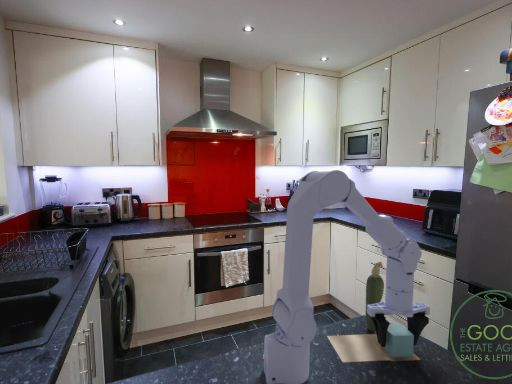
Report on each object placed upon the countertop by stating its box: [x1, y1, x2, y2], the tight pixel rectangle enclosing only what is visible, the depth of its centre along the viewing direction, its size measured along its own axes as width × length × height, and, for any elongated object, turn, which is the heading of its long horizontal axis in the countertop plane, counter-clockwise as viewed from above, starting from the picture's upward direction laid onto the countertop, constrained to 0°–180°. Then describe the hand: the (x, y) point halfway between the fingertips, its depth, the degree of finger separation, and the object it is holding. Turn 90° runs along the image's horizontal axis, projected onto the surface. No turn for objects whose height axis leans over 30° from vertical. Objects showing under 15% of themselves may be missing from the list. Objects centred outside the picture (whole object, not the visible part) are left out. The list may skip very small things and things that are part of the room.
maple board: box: [326, 333, 421, 363], centre depth 65 cm, size 18×10×1 cm, turn 95°
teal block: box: [383, 323, 414, 357], centre depth 64 cm, size 5×5×5 cm
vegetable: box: [365, 261, 385, 334], centre depth 73 cm, size 4×4×20 cm
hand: (396, 343), depth 64 cm, fingers open, 7 cm apart
